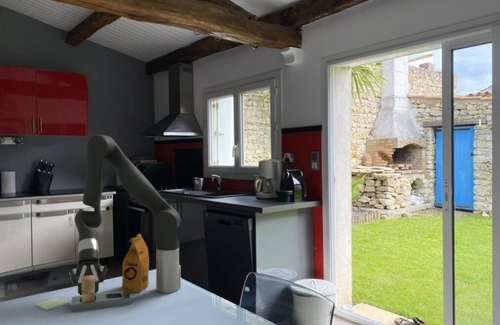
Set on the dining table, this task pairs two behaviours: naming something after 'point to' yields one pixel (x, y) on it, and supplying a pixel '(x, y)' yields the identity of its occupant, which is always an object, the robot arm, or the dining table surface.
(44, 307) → the mat
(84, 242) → the robot arm
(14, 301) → the dining table surface
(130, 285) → the coffee package
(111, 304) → the block with square holes
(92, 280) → the peg
